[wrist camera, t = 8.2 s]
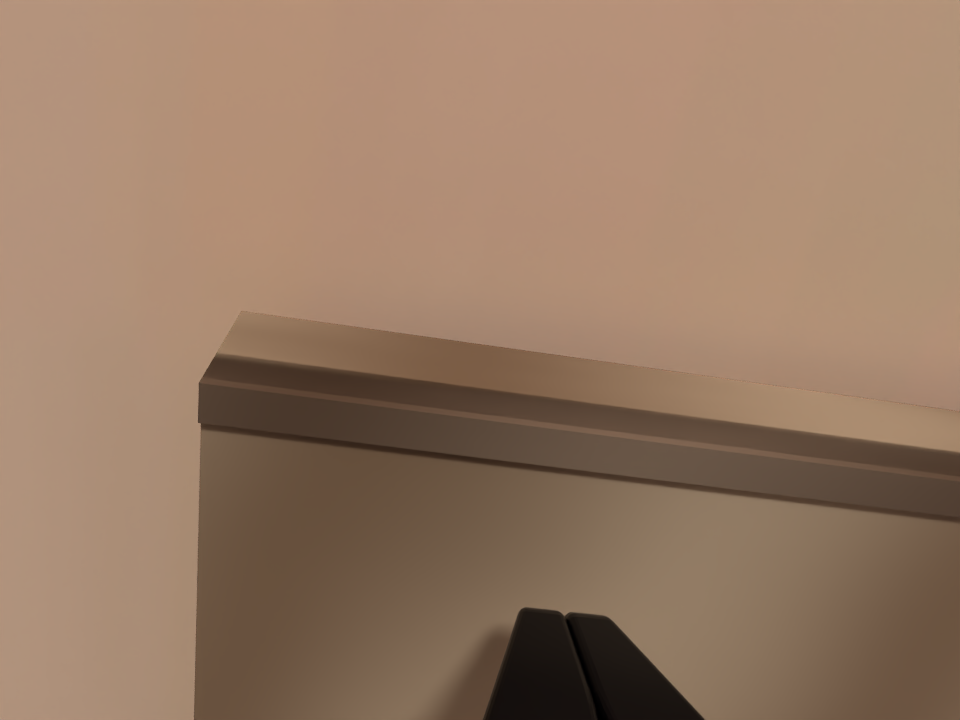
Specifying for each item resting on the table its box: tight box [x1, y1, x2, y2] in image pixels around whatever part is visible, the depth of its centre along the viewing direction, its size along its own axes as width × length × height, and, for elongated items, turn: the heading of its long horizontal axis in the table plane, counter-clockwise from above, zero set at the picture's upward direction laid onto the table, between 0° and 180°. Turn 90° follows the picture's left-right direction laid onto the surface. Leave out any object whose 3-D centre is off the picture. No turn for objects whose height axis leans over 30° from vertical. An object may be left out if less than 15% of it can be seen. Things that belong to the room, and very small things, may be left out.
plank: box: [194, 311, 960, 720], centre depth 10 cm, size 17×7×2 cm, turn 80°
